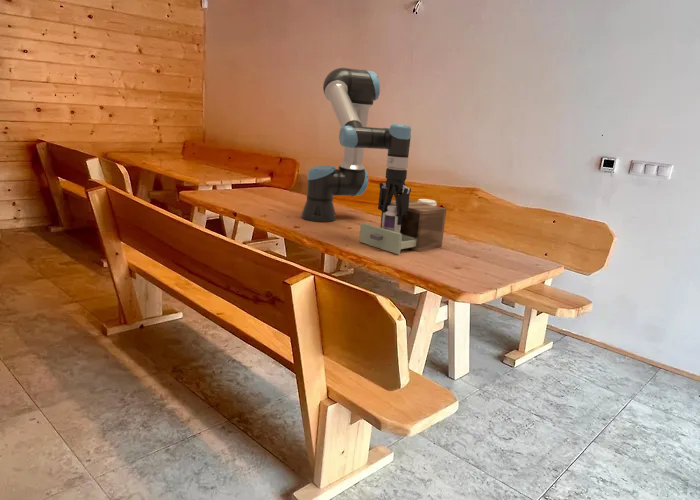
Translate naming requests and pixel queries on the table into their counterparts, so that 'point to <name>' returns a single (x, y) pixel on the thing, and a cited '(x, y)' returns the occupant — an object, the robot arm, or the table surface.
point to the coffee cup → (427, 201)
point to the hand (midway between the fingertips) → (390, 231)
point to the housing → (423, 224)
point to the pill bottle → (390, 218)
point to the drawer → (385, 238)
